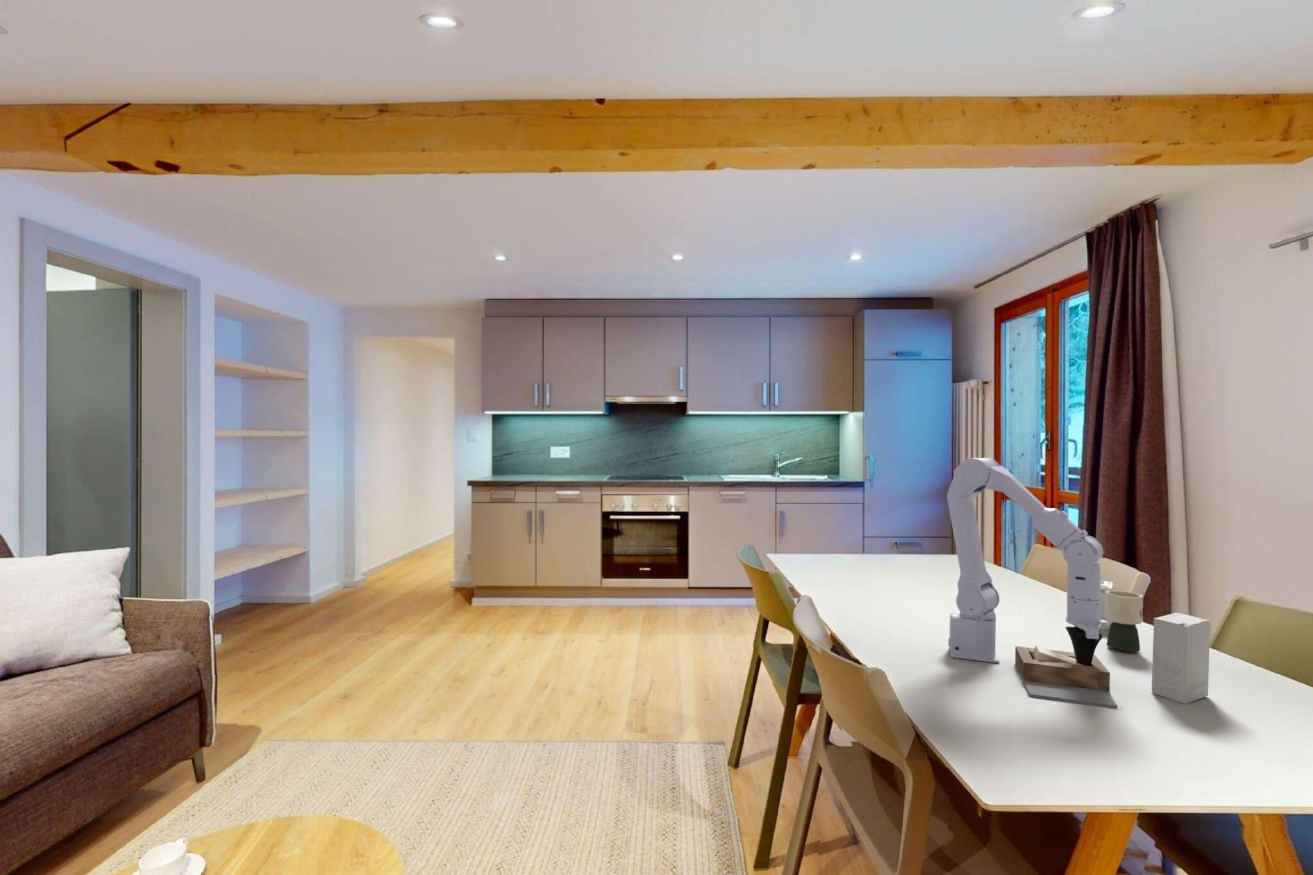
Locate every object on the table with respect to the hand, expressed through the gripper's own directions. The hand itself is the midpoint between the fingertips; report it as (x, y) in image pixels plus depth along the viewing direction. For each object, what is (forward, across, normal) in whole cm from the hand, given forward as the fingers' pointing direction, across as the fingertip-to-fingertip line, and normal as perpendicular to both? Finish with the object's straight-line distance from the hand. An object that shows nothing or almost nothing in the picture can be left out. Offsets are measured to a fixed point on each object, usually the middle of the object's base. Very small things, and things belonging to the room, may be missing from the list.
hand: (1083, 665), depth 133 cm
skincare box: (+3, -2, -15) cm, 16 cm away
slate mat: (+3, -10, +5) cm, 12 cm away
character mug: (+3, +26, -13) cm, 29 cm away
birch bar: (+1, 0, +4) cm, 4 cm away
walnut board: (+3, 0, +4) cm, 5 cm away
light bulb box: (+3, +49, -13) cm, 51 cm away
